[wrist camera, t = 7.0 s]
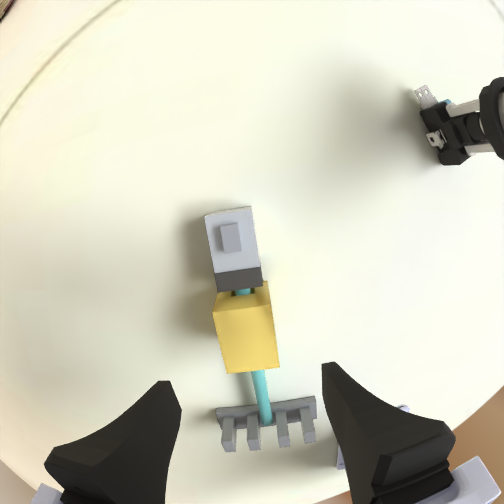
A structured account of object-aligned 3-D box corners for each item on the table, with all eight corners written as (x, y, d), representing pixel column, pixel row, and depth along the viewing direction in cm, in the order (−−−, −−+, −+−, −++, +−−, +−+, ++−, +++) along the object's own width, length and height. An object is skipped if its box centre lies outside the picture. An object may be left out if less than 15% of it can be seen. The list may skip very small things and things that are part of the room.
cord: (272, 417, 22) (273, 425, 21) (261, 418, 22) (262, 426, 21) (242, 242, 18) (242, 246, 18) (227, 245, 19) (226, 248, 18)
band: (261, 272, 20) (263, 286, 17) (222, 278, 20) (218, 292, 17) (259, 256, 20) (260, 267, 17) (219, 262, 20) (214, 274, 17)
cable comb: (315, 412, 23) (322, 442, 19) (222, 424, 24) (219, 454, 20) (314, 396, 23) (323, 426, 19) (216, 408, 23) (212, 439, 19)
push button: (392, 101, 17) (477, 60, 7) (432, 81, 16) (512, 46, 7) (432, 177, 18) (527, 182, 9) (468, 150, 18) (554, 147, 8)
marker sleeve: (275, 335, 21) (279, 367, 17) (231, 341, 21) (227, 373, 17) (267, 280, 20) (271, 304, 16) (219, 287, 20) (212, 312, 16)
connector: (259, 256, 20) (260, 269, 17) (219, 262, 20) (213, 276, 17) (251, 206, 19) (251, 210, 16) (210, 212, 19) (202, 218, 16)
